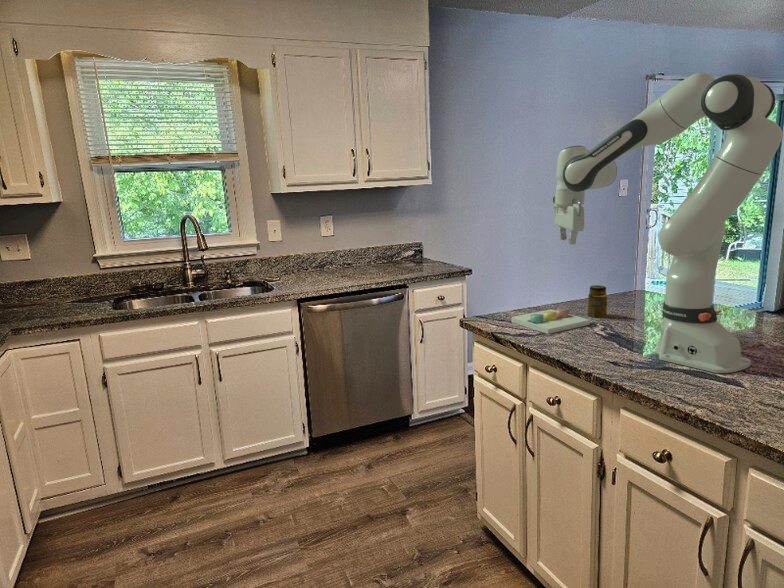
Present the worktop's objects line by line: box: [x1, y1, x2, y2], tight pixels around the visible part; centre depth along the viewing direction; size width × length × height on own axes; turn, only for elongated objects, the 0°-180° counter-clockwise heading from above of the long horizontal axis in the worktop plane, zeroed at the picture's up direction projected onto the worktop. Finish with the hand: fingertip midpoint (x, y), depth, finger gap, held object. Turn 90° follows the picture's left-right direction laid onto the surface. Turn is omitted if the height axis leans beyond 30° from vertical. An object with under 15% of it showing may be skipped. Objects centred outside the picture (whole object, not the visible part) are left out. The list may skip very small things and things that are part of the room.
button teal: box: [531, 314, 544, 324], centre depth 171 cm, size 4×4×4 cm
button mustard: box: [543, 311, 556, 321], centre depth 173 cm, size 4×4×4 cm
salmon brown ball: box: [555, 308, 570, 319], centre depth 175 cm, size 4×4×4 cm
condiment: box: [587, 285, 608, 319], centre depth 177 cm, size 7×8×12 cm
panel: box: [511, 308, 591, 335], centre depth 173 cm, size 18×18×3 cm
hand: (567, 241), depth 167 cm, fingers open, 8 cm apart
